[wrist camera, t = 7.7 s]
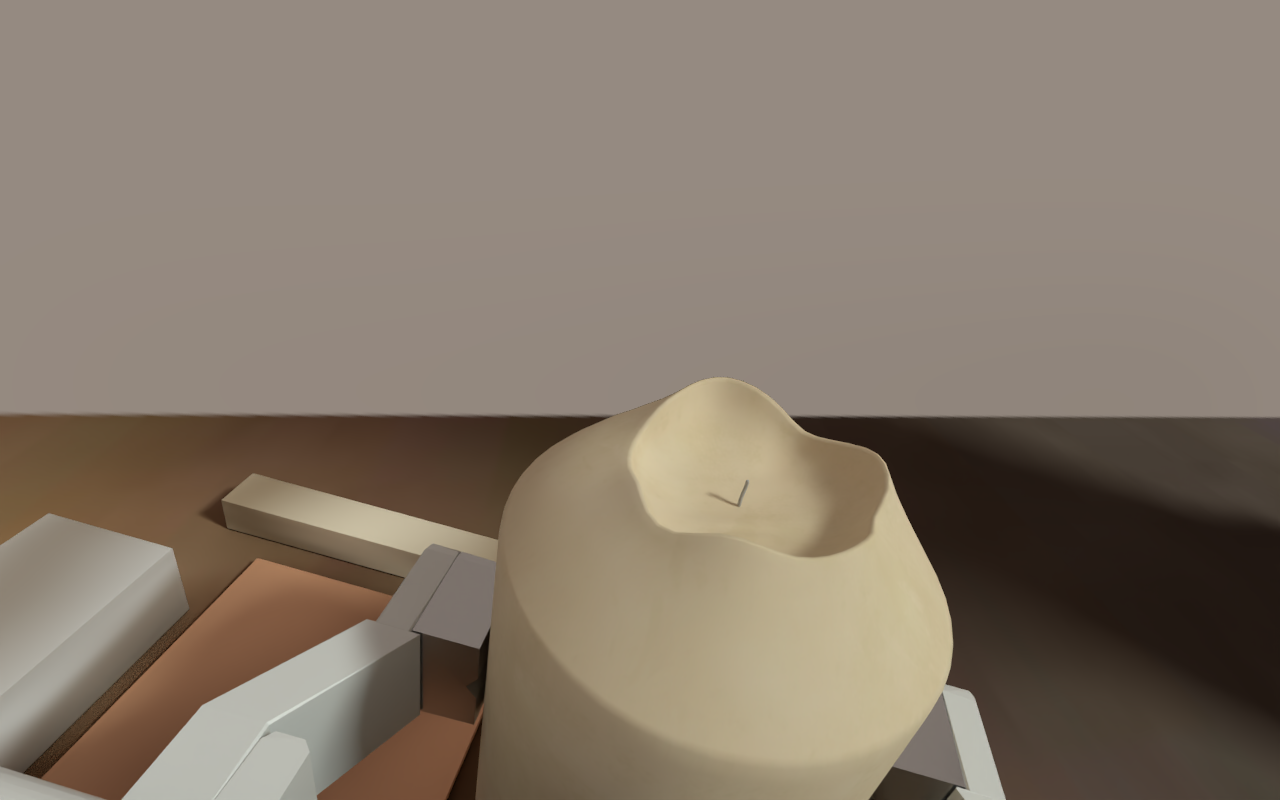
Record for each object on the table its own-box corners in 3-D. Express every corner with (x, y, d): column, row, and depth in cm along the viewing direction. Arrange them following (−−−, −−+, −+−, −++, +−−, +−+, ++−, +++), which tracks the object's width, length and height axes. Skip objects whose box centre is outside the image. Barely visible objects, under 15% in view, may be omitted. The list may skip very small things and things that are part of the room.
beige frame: (887, 673, 17) (917, 625, 16) (1062, 1691, 7) (1180, 1741, 6) (193, 482, 19) (179, 426, 17) (-581, 1083, 8) (-730, 1031, 7)
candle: (485, 722, 14) (522, 312, 9) (722, 723, 15) (881, 354, 10) (446, 1076, 10) (480, 655, 4) (792, 1045, 11) (1153, 673, 5)
